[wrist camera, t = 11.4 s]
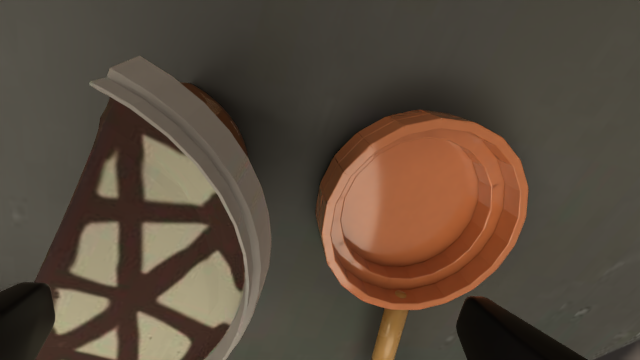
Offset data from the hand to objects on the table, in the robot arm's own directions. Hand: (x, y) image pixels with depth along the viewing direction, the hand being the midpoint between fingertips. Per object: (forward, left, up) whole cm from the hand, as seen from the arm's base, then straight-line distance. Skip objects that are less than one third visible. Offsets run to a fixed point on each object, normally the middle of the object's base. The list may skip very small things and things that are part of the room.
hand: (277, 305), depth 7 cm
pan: (-8, +2, -12) cm, 14 cm away
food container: (+3, +2, -12) cm, 12 cm away
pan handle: (-8, +12, -10) cm, 18 cm away
